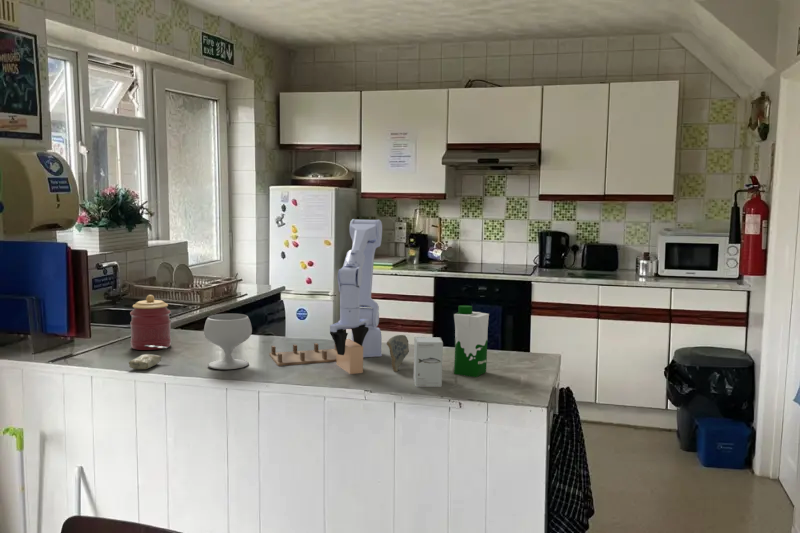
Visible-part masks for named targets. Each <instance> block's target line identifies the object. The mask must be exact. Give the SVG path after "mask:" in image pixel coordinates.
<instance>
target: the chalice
mask: <svg viewBox="0 0 800 533" xmlns="http://www.w3.org/2000/svg"><path fill="white" fill-rule="evenodd" d="M252 333H253V327H252V323H251V320H250V318H249V316H248V315H247V314H244V313H233V312H232V313H217V314H212V315H209V316H207V318H206V320H205V323H204V328H203V335H204V338H206V340H207V341H209V342H210V343H212V344H214V345H216V346H217V347H220V348H221V349H222V350H223V352H224V354H225V355H224V358H222V359H219V360H218V359H217V360H214V361H211V362H209V363H207V367H208V368H211V369H215V370H235V369H241V368H242V369H243V368H245V367H247V366H249V364H250V363H249V362H248V361H247V360H244V359H240V358H239V359H237V358H233V356H232V352H233V351H234V349H235V348H236V347H238V346H239V345H240V344H243V343H245V342H246V341H247V340H249V339H250V337H251V336H252Z"/></svg>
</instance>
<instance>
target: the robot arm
mask: <svg viewBox="0 0 800 533" xmlns="http://www.w3.org/2000/svg"><path fill="white" fill-rule="evenodd" d="M349 236H350V239H351V241H352V245H351V246H352V247H351V249H349V250H348V251H347V252H346V254H345V255H346V256H345V258H344V262H343V265H342V267H341V268H339V269H338V272H337V284H338V292H339V320H338V321H337V322H335V323H333V324H330V325H329V334H330V336H331V337H332V339H333V342H334V346H335V345H336V349H337V353H338V354H339V355H344V353H345V342H346V339H348V334H349V333H348V332H346V331H344V330H348V329H349V330H350V329H351V339H350V340H352V341H354V342H356V343H357V344H359V345H361V346H363V358H376V357H383V354H382V336H383V335H382V331H381V328H380V327H378V325H379V323H380V313H379V311H380V308H379V307H380V306H379V303H377V302H376V301H375V300H374V299H373V298H372V289H373V288H372V287H373V279H374V278H373V276H374V262H375V253H376V249H377V248H379V247H381V244H382V237H383V222H382V221H381V219H379V218H378V219H355V218H352V219H351V220H350V223H349Z"/></svg>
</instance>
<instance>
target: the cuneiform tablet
mask: <svg viewBox="0 0 800 533" xmlns="http://www.w3.org/2000/svg"><path fill="white" fill-rule="evenodd" d="M145 347H155V348H163V349H168V348H169V347H162V346H152V345H145ZM161 361H162V355H157V354H150V353H143V354H141V355H139V356H137V357H135V358H133V359H132V360H129V361H128V365H129V366H128V367H129V368H131V369H134V370H147V369H150V368H151V367H152V368H153V367H154V366H156V365H157V364H159V363H160V362H161Z"/></svg>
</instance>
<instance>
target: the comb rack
mask: <svg viewBox="0 0 800 533" xmlns="http://www.w3.org/2000/svg"><path fill="white" fill-rule="evenodd" d="M270 347H271V350H270V351H271V352H269V355H268V356H269V357H270V359H271V360H272V361H273V362H274V363H275V364H276V366H278V367H282V366H283V365H285V366H294V365H297V366H298V365H310V364H318V363H319V364H321V363H322V364H323V363H334V362H337V349H336V345H335V344H334V348H327V349H324V348H323V349H319V343H317V342H316V343H315V342H314V343H313V349H312V350H311V349H309V350H308V349H307V350H298V344H295V343H294V344H292V351H278V352H277V351H276V347H277V346H275V345H271V346H270Z"/></svg>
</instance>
